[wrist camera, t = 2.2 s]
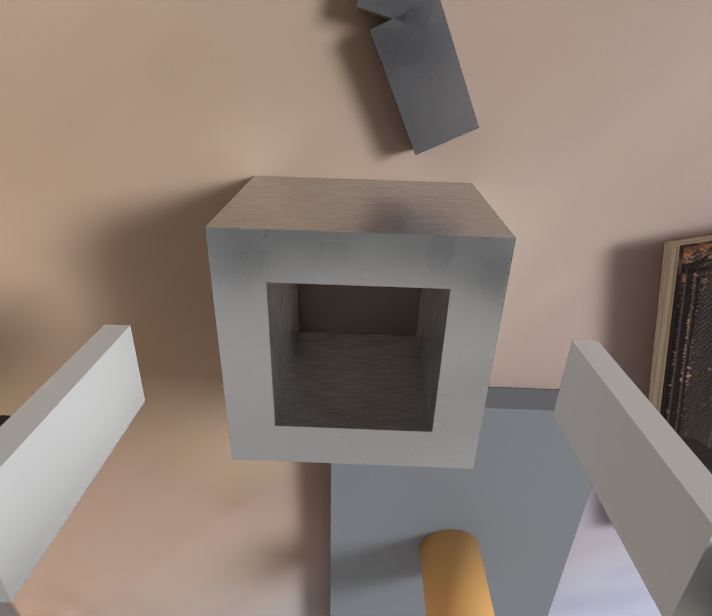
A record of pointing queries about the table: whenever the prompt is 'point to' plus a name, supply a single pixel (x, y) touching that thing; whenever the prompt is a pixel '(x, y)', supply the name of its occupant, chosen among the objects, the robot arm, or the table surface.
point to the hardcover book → (684, 339)
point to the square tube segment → (357, 351)
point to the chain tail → (422, 70)
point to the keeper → (462, 522)
